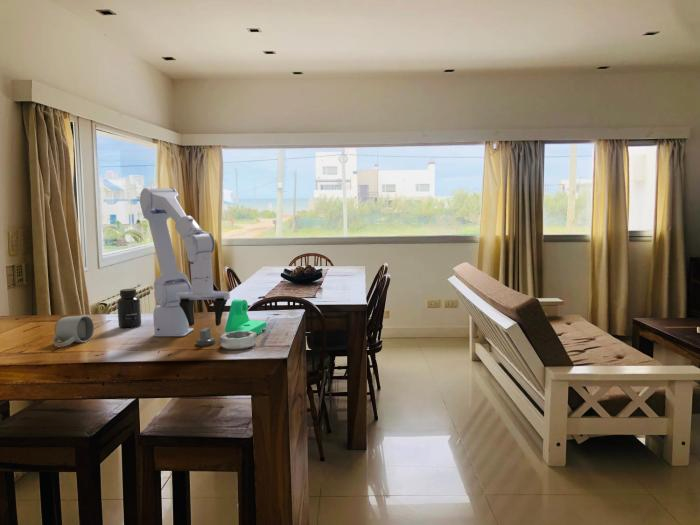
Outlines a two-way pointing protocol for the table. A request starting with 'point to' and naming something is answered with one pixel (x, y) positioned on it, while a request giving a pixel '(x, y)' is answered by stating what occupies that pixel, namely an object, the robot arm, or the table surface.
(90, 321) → the ceramic mug
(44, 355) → the table surface
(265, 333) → the table surface
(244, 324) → the camera mount
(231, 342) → the white ring bowl
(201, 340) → the cap
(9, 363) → the table surface
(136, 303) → the supplement bottle
